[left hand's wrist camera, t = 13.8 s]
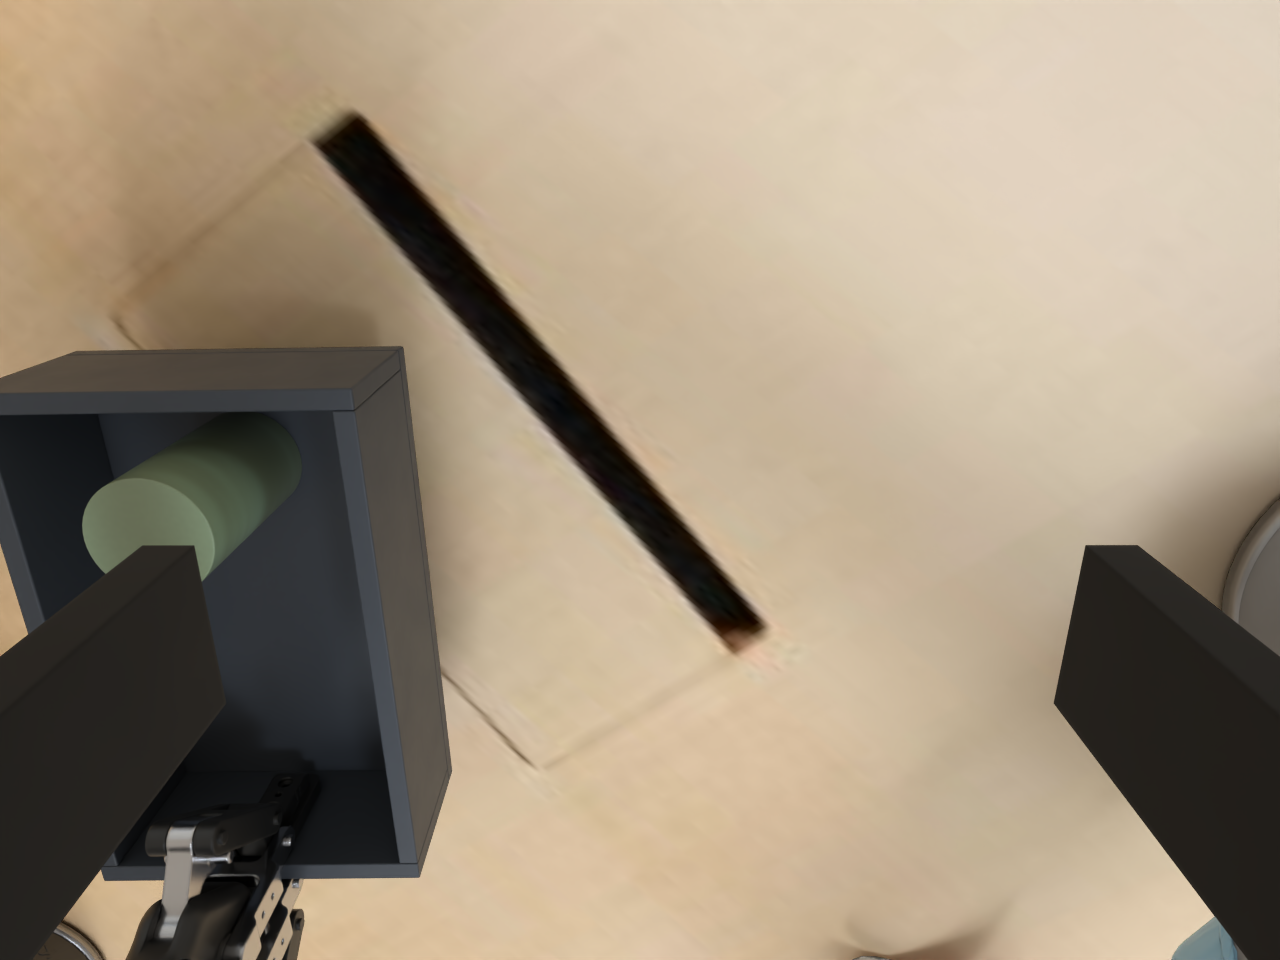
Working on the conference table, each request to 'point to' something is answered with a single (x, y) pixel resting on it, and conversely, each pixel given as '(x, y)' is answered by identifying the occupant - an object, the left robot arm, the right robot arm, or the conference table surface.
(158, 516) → the peg
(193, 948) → the right robot arm
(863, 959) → the fish
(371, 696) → the bin
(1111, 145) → the conference table surface
